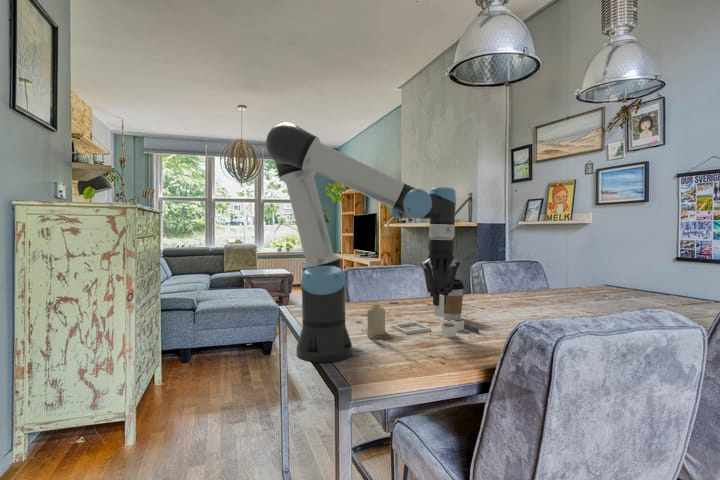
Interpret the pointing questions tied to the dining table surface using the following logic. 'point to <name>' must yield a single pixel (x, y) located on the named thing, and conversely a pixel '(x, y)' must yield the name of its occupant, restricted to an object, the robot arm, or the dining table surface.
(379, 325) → the beige bottle
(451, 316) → the coffee cup
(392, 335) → the dining table surface
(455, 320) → the knob
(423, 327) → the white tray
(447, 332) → the knob
